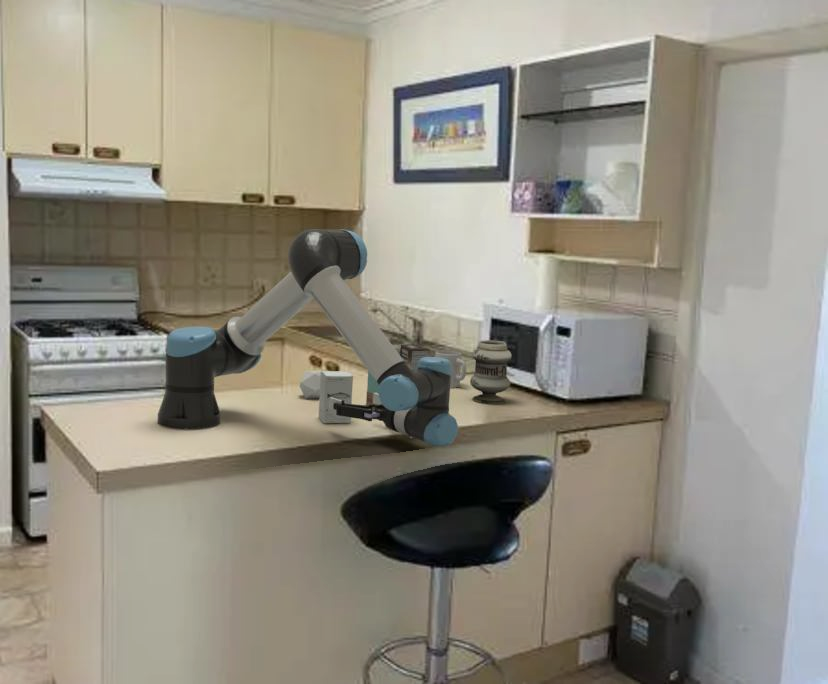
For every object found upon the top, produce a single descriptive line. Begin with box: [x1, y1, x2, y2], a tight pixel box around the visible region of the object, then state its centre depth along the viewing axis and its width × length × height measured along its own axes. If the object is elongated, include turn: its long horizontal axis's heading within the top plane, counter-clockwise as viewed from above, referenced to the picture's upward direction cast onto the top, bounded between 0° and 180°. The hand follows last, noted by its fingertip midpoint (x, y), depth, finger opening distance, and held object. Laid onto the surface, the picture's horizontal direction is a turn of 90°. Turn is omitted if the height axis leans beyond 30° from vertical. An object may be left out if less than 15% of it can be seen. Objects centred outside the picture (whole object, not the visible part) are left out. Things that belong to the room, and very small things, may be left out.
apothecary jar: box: [469, 339, 512, 405], centre depth 266 cm, size 12×12×18 cm
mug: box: [434, 350, 467, 389], centre depth 285 cm, size 12×8×11 cm
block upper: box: [366, 370, 379, 393], centre depth 240 cm, size 9×9×6 cm
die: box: [298, 370, 322, 399], centre depth 257 cm, size 8×9×10 cm
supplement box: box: [318, 370, 354, 424], centre depth 229 cm, size 7×7×13 cm
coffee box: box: [399, 343, 431, 371], centre depth 261 cm, size 9×6×16 cm
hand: (352, 400), depth 224 cm, fingers open, 13 cm apart
